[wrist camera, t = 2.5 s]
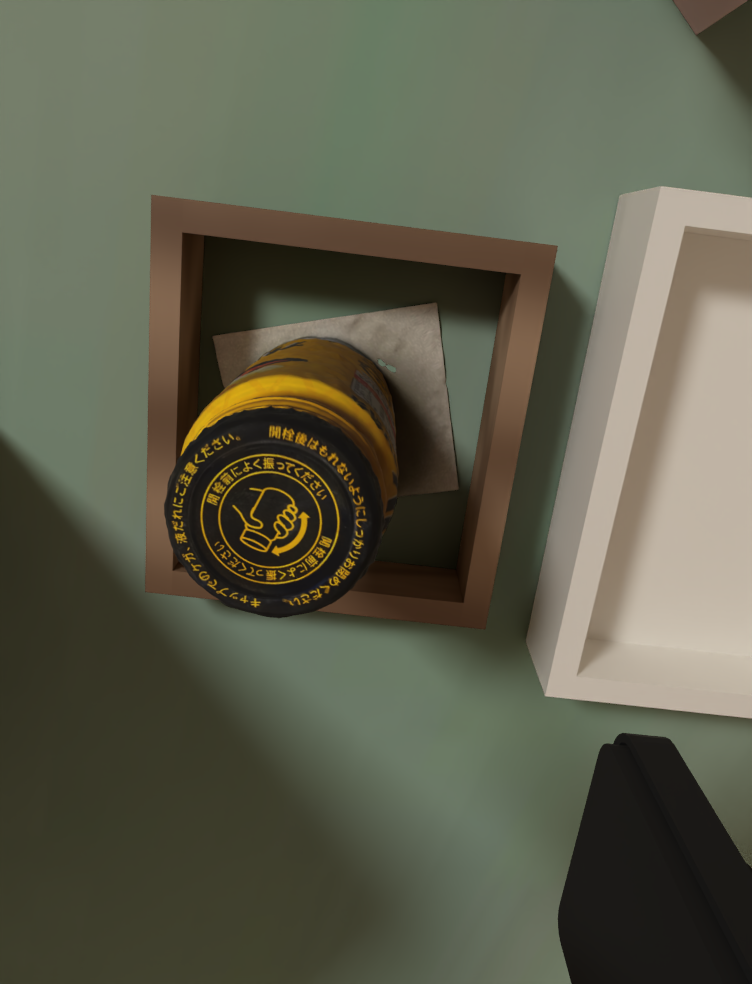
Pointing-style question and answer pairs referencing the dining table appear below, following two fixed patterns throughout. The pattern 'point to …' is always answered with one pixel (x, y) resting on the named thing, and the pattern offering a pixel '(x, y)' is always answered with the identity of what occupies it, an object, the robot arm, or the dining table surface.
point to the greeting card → (705, 11)
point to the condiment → (309, 456)
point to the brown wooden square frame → (525, 263)
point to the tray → (658, 471)
